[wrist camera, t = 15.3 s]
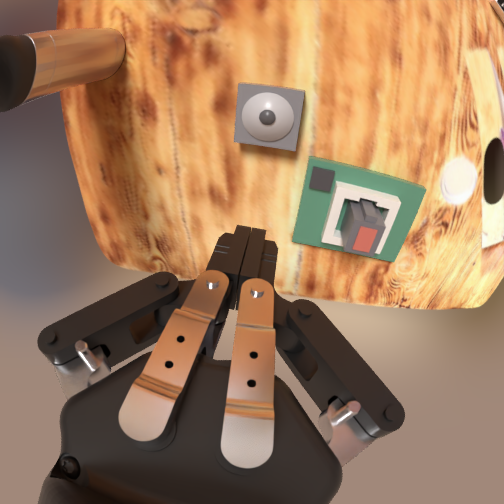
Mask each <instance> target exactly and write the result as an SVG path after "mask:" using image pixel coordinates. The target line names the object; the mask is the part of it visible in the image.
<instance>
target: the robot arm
mask: <svg viewBox="0 0 504 504" xmlns="http://www.w3.org/2000/svg"><path fill="white" fill-rule="evenodd" d="M124 54H125V42H124V39H123V37H122V35H121V34H120V33H119V32H118V31H117V30H115V29H111V28H78V29H62V30H52V31H43V32H37V33H30V34H25V35H19V36H11V35H4V36H0V112H5V111H8V110H10V109H13V108H15V107H17V106H20V105H22V104H25V103H27V102H30V101H32V100H35V99H37V98H40V97H43V96H46V95H49V94H52V93H55V92H58V91H61V90H64V89H68V88H71V87H75V86H78V85H82V84H86V83H90V82H95V81H99V80H103V79H106V78H109V77H110V76H112V75H113V74H114V73H115V72H116V71H117V70H118V68H119V67H120V65H121V63H122V61H123V58H124ZM265 234H266V230H263V229H258V228H252V231H251V227H247V226H241V225H237V227H236V230H235V233H234V234H231V233H224V234H223V235H222V236H221V237H219V239H218V241H217V244H216V246H215V249H214V251H213V254H212V256H211V259H210V261H209V263H208V266H207V268H206V271H204V272H202V273H201V274H200V275H199V276H198V277H197V279H194V280H189V281H178V279H177V277H176V276H175V275H174V274H172V273H169V272H158V273H155V274H153V275H151V276H149V277H147V278H145V279H143V280H140V281H138V282H136V283H134V284H132V285H130V286H128V287H126V288H124V289H122V290H120V291H118V292H116V293H114V294H111V295H109V296H107V297H105V298H103V299H101V300H99V301H97V302H95V303H93V304H91V305H89V306H87V307H85V308H83V309H81V310H79V311H77V312H75V313H73V314H71V315H69V316H67V317H65V318H63V319H61V320H59V321H57V322H55V323H53V324H52V325H50V326H48V327H46V328H44V329H43V330H42V331H41V333H40V335H39V337H38V347H39V349H40V350H41V352H42V353H43V354H44V355H45V356H46V357H47V359H48V361H49V362H50V363H51V364H52V365H53V366H54V369H55V372H56V374H57V377H58V380H59V382H60V385H61V387H62V389H63V392H64V394H65V396H66V398H67V402H66V403H65V405H64V407H63V408H62V411H61V415H60V429H61V440H62V441H61V453H60V456H59V459H58V461H57V462H56V464H55V465H54V467H53V468H52V470H51V471H50V473H49V474H48V476H47V477H46V479H45V480H44V483H43V486H42V490H41V493H40V497H39V501H38V504H329V503H330V501H331V500H332V498H333V497H334V496H335V495H336V493H337V492H338V490H339V488H340V485H341V482H342V467H343V466H344V465H345V464H347V463H348V462H349V461H351V460H352V459H353V458H354V457H356V456H357V455H358V454H359V453H360V452H362V451H363V450H364V449H365V448H367V447H368V446H369V445H370V444H371V443H372V442H373V441H375V440H377V439H379V438H381V437H383V436H385V435H387V434H389V433H391V432H393V431H395V430H397V429H399V428H400V427H401V425H402V424H403V422H404V418H405V412H404V408H403V407H402V405H401V404H400V402H399V401H398V400H397V399H396V398H395V396H394V395H393V394H392V393H391V392H390V390H389V389H388V388H387V387H386V386H385V385H384V383H383V382H382V381H381V380H380V379H379V377H378V376H377V375H376V374H375V373H374V371H373V370H372V369H371V368H370V367H369V366H368V364H367V363H366V362H365V361H364V360H363V358H362V357H361V356H360V355H359V354H358V353H357V351H356V350H355V349H354V348H353V347H352V346H351V344H350V343H349V342H348V341H347V340H346V339H345V337H344V336H343V335H342V334H341V333H340V332H339V330H338V329H337V328H336V327H335V326H334V325H333V323H332V322H331V321H330V320H329V319H328V318H327V316H326V315H325V314H324V313H323V312H322V311H321V310H320V308H319V307H318V306H317V305H316V304H314V303H313V302H311V301H309V300H304V299H299V300H296V301H294V302H289V301H287V300H285V299H283V298H282V297H280V296H279V295H278V294H277V293H276V291H275V289H274V278H275V270H276V262H277V253H278V248H277V245H276V243H275V242H274V241H269V240H265ZM236 300H237V302H236ZM235 304H236V310H238V317H237V324H236V331H235V339H234V346H233V353H232V360H214V359H213V356H214V352H215V350H216V347H217V344H218V341H219V339H220V336H221V333H222V330H223V328H224V325H225V322H226V318H227V315H228V311H229V309H233V310H234V308H235ZM156 342H157V344H156V346H155V348H154V350H153V351H151V352H148V353H146V354H143V355H142V356H140V357H138V358H137V359H135V360H133V361H132V362H130V363H128V364H127V365H125V366H123V367H122V368H120V369H118V370H117V371H115V372H113V373H111V374H110V372H111V367H113V366H114V365H116V364H118V363H120V362H122V361H124V360H125V359H127V358H129V357H131V356H133V355H134V354H136V353H138V352H140V351H142V350H143V349H145V348H147V347H149V346H151V345H152V344H154V343H156ZM275 346H276V349H277V351H278V352H279V354H280V356H281V357H282V358H283V360H284V361H285V363H286V364H287V365H288V367H289V368H290V369H291V371H292V372H293V374H294V375H295V376H296V378H297V379H298V380H299V382H300V383H301V385H302V386H303V387H304V389H305V390H306V391H307V393H308V394H309V395H310V397H311V398H312V399H313V401H314V402H315V403H316V405H317V406H318V407H319V409H320V410H321V411H322V412H321V414H320V415H319V419H318V425H319V427H320V429H321V431H322V434H323V437H322V435H321V434H320V433H319V431H318V430H317V428H316V427H315V425H314V424H313V423H312V421H311V420H310V418H309V417H308V415H307V414H306V412H305V411H304V409H303V408H302V406H301V405H300V403H299V402H298V400H297V399H296V397H295V396H294V394H293V393H292V391H291V390H290V388H289V387H288V386H287V385H286V383H285V382H284V381H282V380H281V379H280V378H279V377H277V376H276V375H274V370H275Z"/></svg>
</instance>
